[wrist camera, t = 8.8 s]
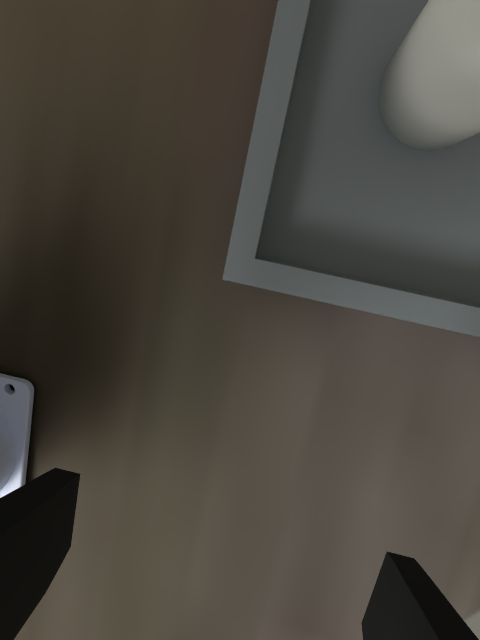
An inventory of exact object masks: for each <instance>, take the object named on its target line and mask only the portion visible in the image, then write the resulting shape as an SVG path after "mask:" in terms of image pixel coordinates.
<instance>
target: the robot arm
mask: <svg viewBox="0 0 480 640" xmlns="http://www.w3.org/2000/svg"><path fill="white" fill-rule="evenodd" d="M10 384H11V385H13V387H14V389H15V391H13V390H11V388H10ZM33 398H34V387H33V385H32V383H30V382H29V381H28V380H26V379H22V378H18V377H14V376H9V375H5V374H1V373H0V640H14V638H15V637H16V635H17V634H18V632H19V631H20V630H21V628H22V627H23V625H24V624H25V622H26V621H27V619H28V618H29V616H30V615H31V613H32V612H33V610H34V609H35V608H36V606H37V605H38V603H39V602H40V600H41V599H42V597H43V596H44V594H45V593H46V591H47V589H48V587H49V586H50V584H51V582H52V580H53V578H54V577H55V575H56V573H57V571H58V569H59V567H60V566H61V564H62V562H63V560H64V558H65V556H66V554H67V552H68V551H69V549H70V547H71V540H72V532H73V525H74V517H75V509H76V502H77V494H78V487H79V479H80V474H78V473H74V472H70V471H66V470H62V469H58V468H54V469H52V470H50V471H48V472H46V473H45V474H43V475H41V476H39V477H37V478H35V479H34V480H32V481H30V482H28V483H26V484H25V482H26V472H27V461H28V451H29V440H30V430H31V419H32V409H33ZM362 632H363V640H478V638H477V637H476V636H475V635H474V633H473V632H472V631H471V629H470V628H469V627H468V626H467V624H466V623H465V622H464V621H463V619H462V618H461V617H460V615H459V614H458V613H457V612H456V610H455V609H454V608H453V607H452V605H451V604H450V603H449V601H448V600H447V599H446V598H445V596H444V595H443V594H442V592H441V591H440V590H439V589H438V587H437V586H436V585H435V584H434V582H433V581H432V580H431V578H430V577H429V576H428V575H427V573H426V572H425V571H424V570H423V568H422V567H421V566H420V565H419V564H418V562H417V561H416V560H415V559H414V558H410V557H406V556H402V555H398V554H394V553H390V552H387V553H386V556H385V558H384V561H383V564H382V567H381V570H380V573H379V575H378V578H377V581H376V584H375V587H374V590H373V592H372V595H371V598H370V601H369V604H368V607H367V609H366V612H365V615H364V618H363V621H362Z"/></svg>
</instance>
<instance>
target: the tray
mask: <svg viewBox="0 0 480 640" xmlns="http://www.w3.org/2000/svg"><path fill="white" fill-rule="evenodd" d="M428 1H429V0H278V4H277V9H276V14H275V19H274V24H273V29H272V34H271V39H270V44H269V49H268V54H267V59H266V64H265V69H264V74H263V79H262V84H261V89H260V94H259V99H258V104H257V109H256V114H255V119H254V124H253V129H252V134H251V139H250V144H249V149H248V154H247V159H246V164H245V169H244V174H243V179H242V184H241V189H240V194H239V199H238V204H237V209H236V214H235V219H234V224H233V229H232V234H231V239H230V244H229V249H228V254H227V259H226V264H225V269H224V274H223V279H222V280H226V281H231V282H235V283H240V284H244V285H249V286H253V287H258V288H262V289H267V290H271V291H276V292H280V293H285V294H289V295H294V296H298V297H302V298H307V299H311V300H316V301H320V302H325V303H329V304H334V305H338V306H343V307H347V308H352V309H356V310H361V311H365V312H370V313H374V314H379V315H383V316H387V317H392V318H396V319H401V320H405V321H410V322H414V323H419V324H423V325H428V326H432V327H437V328H441V329H446V330H450V331H455V332H459V333H464V334H468V335H473V336H477V337H480V133H478V134H476V135H474V136H472V137H470V138H468V139H466V140H464V141H462V142H459V143H457V144H455V145H453V146H450V147H448V148H444V149H441V150H434V151H425V150H418V149H414V148H411V147H409V146H407V145H405V144H403V143H401V142H400V141H399V140H397V139H396V138H395V137H394V136H393V135H392V134H391V133H390V131H389V130H388V128H387V127H386V125H385V123H384V121H383V119H382V116H381V113H380V107H379V88H380V83H381V79H382V76H383V73H384V71H385V69H386V66H387V65H388V63H389V61H390V60H391V58H392V56H393V55H394V53H395V52H396V50H397V49H398V47H399V46H400V44H401V43H402V41H403V39H404V38H405V36H406V35H407V33H408V32H409V30H410V29H411V27H412V25H413V24H414V22H415V21H416V19H417V18H418V16H419V15H420V13H421V12H422V10H423V8H424V7H425V5H426V4H427V2H428Z"/></svg>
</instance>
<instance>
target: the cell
mask: <svg viewBox="0 0 480 640" xmlns="http://www.w3.org/2000/svg"><path fill="white" fill-rule="evenodd" d="M379 107H380V113H381V116H382V119H383V121H384V123H385V125H386V127H387V128H388V130H389V131H390V133H391V134H392V135H393V136H394V137H395V138H396V139H397V140H399V141H400V142H401V143H403V144H405V145H407V146H409V147H411V148H414V149H418V150H425V151H434V150H441V149H444V148H448V147H450V146H453V145H455V144H457V143H459V142H462V141H464V140H466V139H468V138H470V137H472V136H474V135H476V134H478V133H480V0H429V1H428V2H427V4H426V5H425V7H424V8H423V10H422V12H421V13H420V15H419V16H418V18H417V19H416V21H415V22H414V24H413V25H412V27H411V29H410V30H409V32H408V33H407V35H406V36H405V38H404V39H403V41H402V43H401V44H400V46H399V47H398V49H397V50H396V52H395V53H394V55H393V56H392V58H391V60H390V61H389V63H388V65H387V66H386V69H385V71H384V73H383V76H382V79H381V83H380V88H379Z"/></svg>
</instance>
